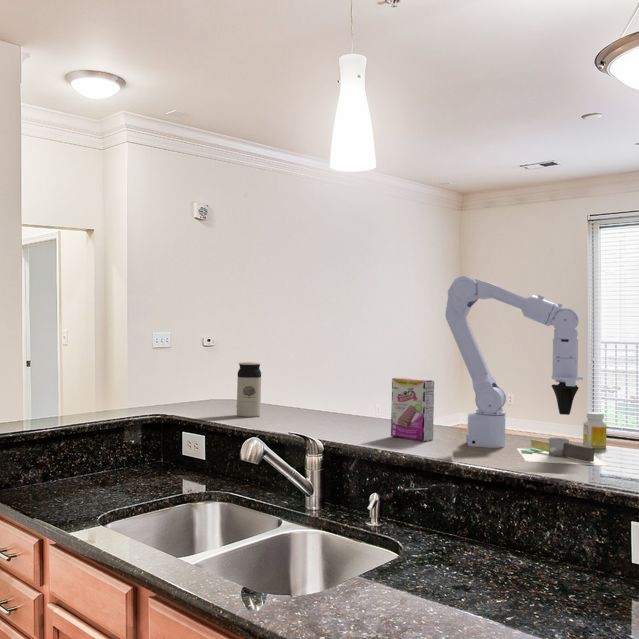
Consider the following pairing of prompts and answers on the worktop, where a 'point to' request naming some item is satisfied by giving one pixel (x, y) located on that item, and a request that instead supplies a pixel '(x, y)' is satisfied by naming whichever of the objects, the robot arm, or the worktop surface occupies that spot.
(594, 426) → the supplement bottle
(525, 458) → the board
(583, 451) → the dial pointer
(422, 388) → the candy bar box
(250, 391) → the travel mug
